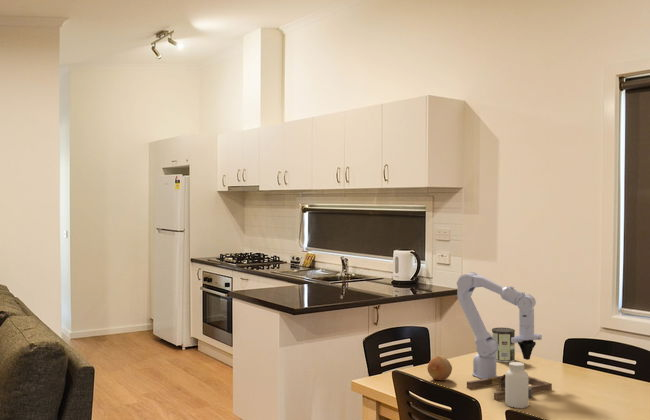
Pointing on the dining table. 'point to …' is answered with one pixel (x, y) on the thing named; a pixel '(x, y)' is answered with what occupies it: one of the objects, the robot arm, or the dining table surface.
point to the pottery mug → (502, 382)
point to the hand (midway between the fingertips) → (526, 359)
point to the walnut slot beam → (537, 384)
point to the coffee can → (504, 344)
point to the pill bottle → (516, 386)
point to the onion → (439, 368)
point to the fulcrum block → (529, 392)
